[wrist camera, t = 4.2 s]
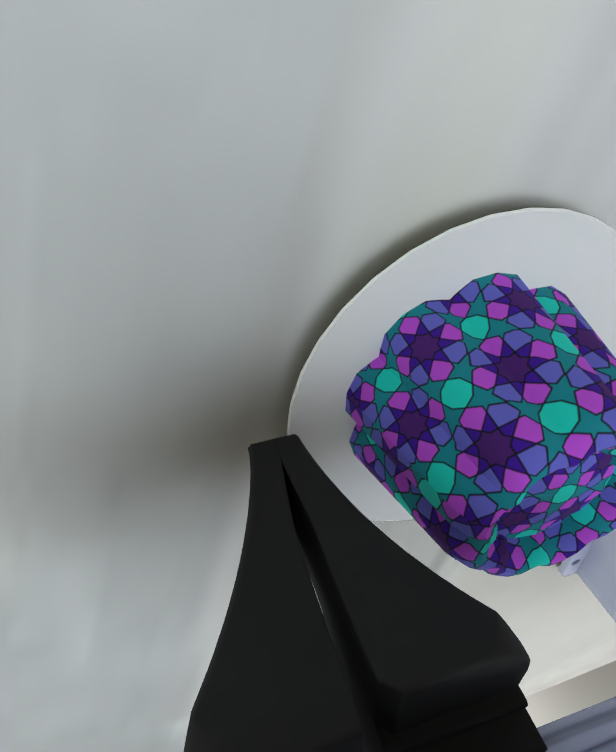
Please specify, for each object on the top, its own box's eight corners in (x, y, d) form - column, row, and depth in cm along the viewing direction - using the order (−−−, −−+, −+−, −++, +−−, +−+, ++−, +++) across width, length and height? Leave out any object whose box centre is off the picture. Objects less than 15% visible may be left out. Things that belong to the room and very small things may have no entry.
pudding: (328, 165, 10) (455, 264, 6) (698, 224, 14) (923, 306, 10) (256, 520, 17) (292, 680, 13) (520, 491, 21) (611, 605, 17)
